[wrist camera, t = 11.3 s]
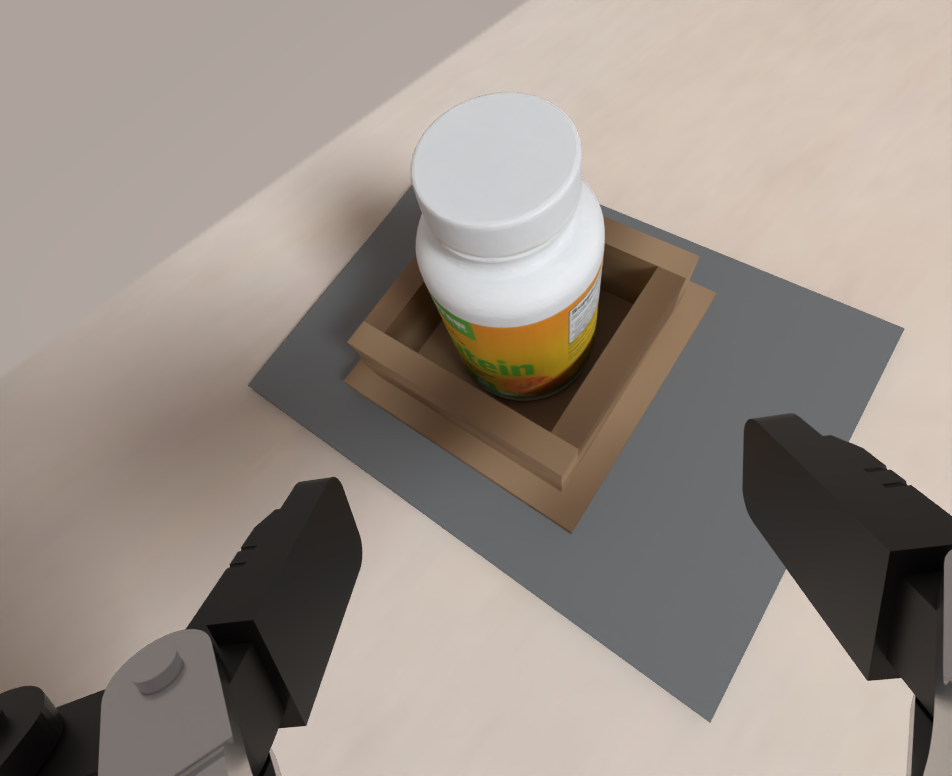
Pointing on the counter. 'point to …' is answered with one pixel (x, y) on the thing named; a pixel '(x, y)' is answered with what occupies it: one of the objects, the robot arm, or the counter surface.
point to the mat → (637, 467)
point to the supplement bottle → (510, 241)
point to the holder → (552, 418)
